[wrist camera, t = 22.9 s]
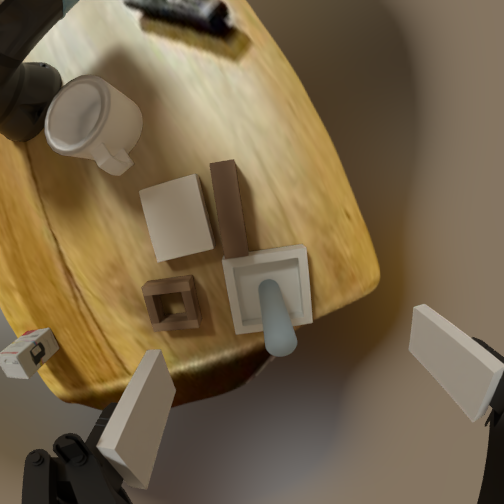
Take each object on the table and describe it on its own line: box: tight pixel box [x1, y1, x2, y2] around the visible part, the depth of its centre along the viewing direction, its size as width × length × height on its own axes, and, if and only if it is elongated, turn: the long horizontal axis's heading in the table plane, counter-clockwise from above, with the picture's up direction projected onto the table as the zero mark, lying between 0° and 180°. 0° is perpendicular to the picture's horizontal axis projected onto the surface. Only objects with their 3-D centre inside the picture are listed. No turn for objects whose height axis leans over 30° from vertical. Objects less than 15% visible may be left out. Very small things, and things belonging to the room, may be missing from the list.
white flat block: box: [139, 174, 216, 262], centre depth 37 cm, size 8×10×3 cm
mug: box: [45, 75, 143, 176], centre depth 30 cm, size 14×10×11 cm
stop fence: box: [210, 160, 249, 259], centre depth 36 cm, size 3×12×4 cm, turn 8°
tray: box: [222, 244, 313, 335], centre depth 39 cm, size 11×11×2 cm
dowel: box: [258, 279, 297, 357], centre depth 32 cm, size 3×3×15 cm
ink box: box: [0, 328, 59, 379], centre depth 36 cm, size 9×5×12 cm, turn 103°
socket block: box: [141, 275, 202, 332], centre depth 39 cm, size 7×7×3 cm
